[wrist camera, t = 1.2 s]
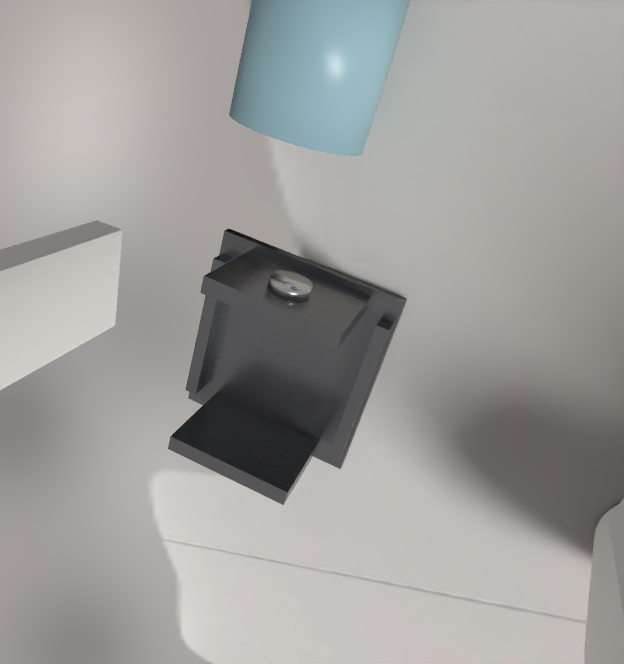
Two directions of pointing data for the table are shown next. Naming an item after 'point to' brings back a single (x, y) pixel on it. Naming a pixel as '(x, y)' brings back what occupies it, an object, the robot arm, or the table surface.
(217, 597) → the table surface
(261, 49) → the roll
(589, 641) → the cup
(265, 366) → the holder
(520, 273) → the table surface
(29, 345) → the robot arm
